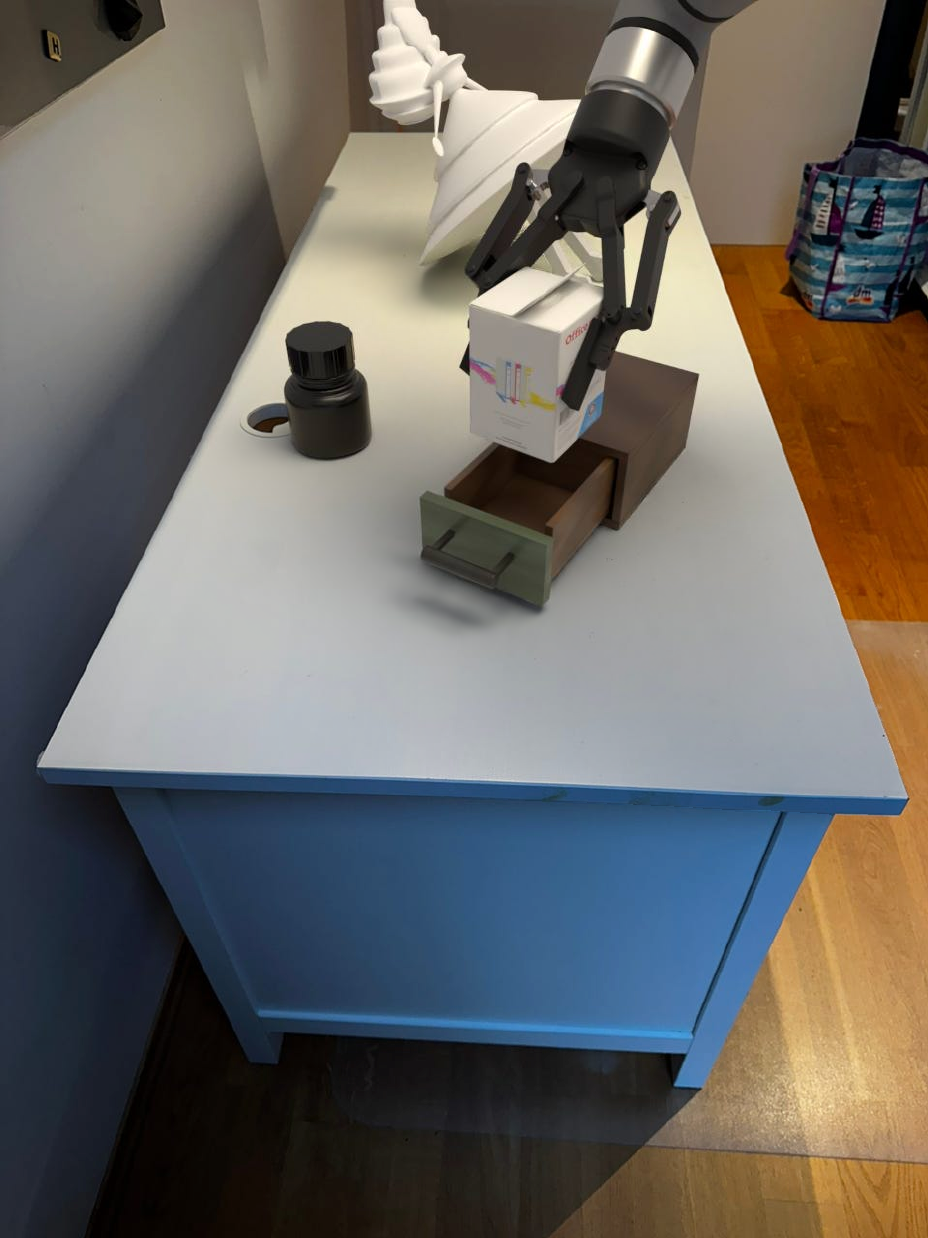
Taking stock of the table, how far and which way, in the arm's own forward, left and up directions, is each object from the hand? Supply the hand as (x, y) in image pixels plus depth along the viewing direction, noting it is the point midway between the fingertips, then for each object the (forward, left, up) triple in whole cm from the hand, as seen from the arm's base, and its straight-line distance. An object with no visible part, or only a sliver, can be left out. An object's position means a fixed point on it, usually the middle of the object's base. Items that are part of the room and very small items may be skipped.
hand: (518, 388), depth 72 cm
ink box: (0, -3, -5) cm, 6 cm away
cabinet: (0, -18, -18) cm, 25 cm away
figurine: (+35, -56, -18) cm, 68 cm away
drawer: (0, -1, -17) cm, 17 cm away
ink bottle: (+27, -8, -18) cm, 34 cm away
